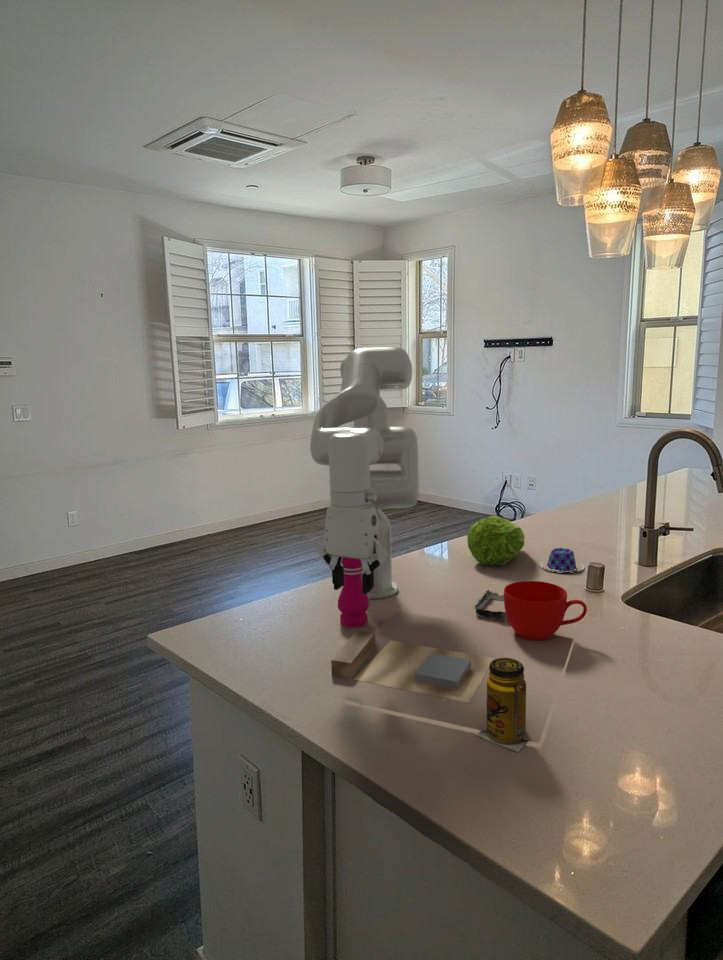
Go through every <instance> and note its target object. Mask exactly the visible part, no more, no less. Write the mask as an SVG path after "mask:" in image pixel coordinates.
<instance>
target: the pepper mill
mask: <svg viewBox="0 0 723 960" xmlns="http://www.w3.org/2000/svg"><path fill="white" fill-rule="evenodd" d="M341 566H343V567H344V585H343V586H342V587H341V588H342V589H341V591H340V593H339V595H338V598H337V609H338V611H339V612H340V615H339V618H340V620H339V621H340V624H341V625H342V626H343V627H347V628H360V627H364V626H365V625H366V624H368V622H369V621H368V619H369V618H368V613H367V611H368V609H369V608H370V599H368V595H367V594H363V593H362V577H361V576H362V572H363V571H364V570H363V566H362V563H361V560H360V559H354V558H346V557H343V558H342V562H341Z"/></svg>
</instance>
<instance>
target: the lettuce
mask: <svg viewBox="0 0 723 960" xmlns="http://www.w3.org/2000/svg"><path fill="white" fill-rule="evenodd" d="M466 537H467V538H466V539H467V547H468V550H469V551H470V553H471V555H472V557H473V558H474V559H475V560H476V561H477V563H478V564H480V565H487V566H493V567H494V566H498V567H499V566H501V565H505V564H507V563H509V562H510V561H511V560H512V559H514V558H515V557H516V556H517V555H519V553H520V552H521V550H522V549H523V547H524V546H525V538H526V535H525V534H524V531H523V530H522V528H521V527H520V526H518V525H516V524H515V523H513V522H512V521H509V519H506V518H505V517H504V518H503V517H500V516H497V515H490V516H486V517H484V518H481V519H479V520H478V521H475V522H474V523H473V524H471V525H470V528H469V531H468V533H467V536H466Z"/></svg>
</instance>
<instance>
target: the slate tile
mask: <svg viewBox="0 0 723 960" xmlns="http://www.w3.org/2000/svg"><path fill="white" fill-rule="evenodd" d="M470 668H471V660H468V659H463V658H457V657H451V656H446V655H440V654H435V653H431V654H430V655H429V656H428V657H427V659H426V660H425V661H424V662H423V664H422V665H421V666H420V668H419V669H418V670H417V671H416V673H415V681H416V682H417V683H422V684H427V685H432V686H437V687H442V688H447V689H452V690H457V689H458V688H459V686H460V684H461V683H462V681H463V679H464V678H465V676H466V675H467V673H468V671H469V670H470Z"/></svg>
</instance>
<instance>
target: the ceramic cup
mask: <svg viewBox="0 0 723 960" xmlns="http://www.w3.org/2000/svg"><path fill="white" fill-rule="evenodd" d="M503 595H504V601H503V605H504V612H505V613H506V616H507V619H508V620H507V622H508V623H509V625H510V627H511V628H512V630H513V631H514V632H515V633H516V634H517V635H518V636H519V637H521V638H523V639H526V640H530V641H544V640H548V639H550V638H551V637H552V636H553V635H554V634H555V633H557V632H558V630H559V629H560V628H561V627H562V626H565V625H571V624H576V623H578V622H579V621H581V620H583V619H584V618H585V616H586V614H587V613H588V607H587V605H586V603H585V602H584V601H583V600H581V599H572V600H569V601H568V600H567V599H568V593H567V590H566V589H564V587H562V586H560V585H557V584H555V583H550V582H546V581H539V580H524V581H523V580H521V581H520V580H519V581H516V582H511V583H509V584H507V585H506V586H505V587H504V589H503ZM575 604H576V605H580V606H581V607H582V608H583V611H582V612H581V614H579V616H577V617H573V618H571V619H567V620H566V619H565V620H564V618H565V616H566V615H565V614H566V612H567V610H568V609H569V608H570V607H571V606H572V605H575Z"/></svg>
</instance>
